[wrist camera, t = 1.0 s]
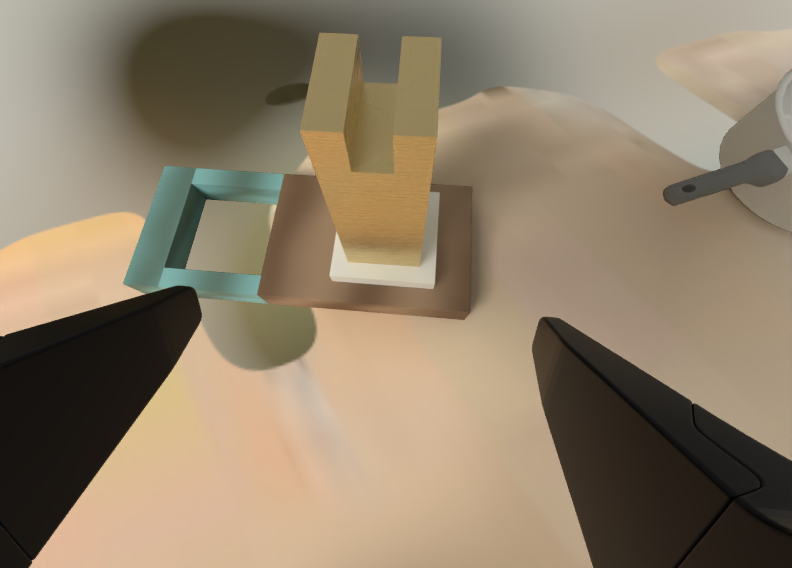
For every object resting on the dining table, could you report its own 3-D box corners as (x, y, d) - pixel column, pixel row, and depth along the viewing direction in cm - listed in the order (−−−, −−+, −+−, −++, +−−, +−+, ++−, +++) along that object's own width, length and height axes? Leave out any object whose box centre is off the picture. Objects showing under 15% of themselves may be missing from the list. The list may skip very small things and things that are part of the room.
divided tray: (144, 293, 24) (110, 278, 22) (181, 182, 27) (156, 156, 24) (464, 319, 24) (472, 307, 21) (467, 202, 26) (475, 178, 24)
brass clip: (419, 266, 22) (437, 137, 11) (348, 262, 22) (300, 130, 11) (422, 204, 23) (441, 37, 13) (355, 200, 23) (319, 32, 13)
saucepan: (578, 173, 27) (621, 118, 22) (793, 103, 29) (880, 37, 24) (663, 309, 24) (738, 281, 18) (901, 219, 26) (1031, 171, 20)
